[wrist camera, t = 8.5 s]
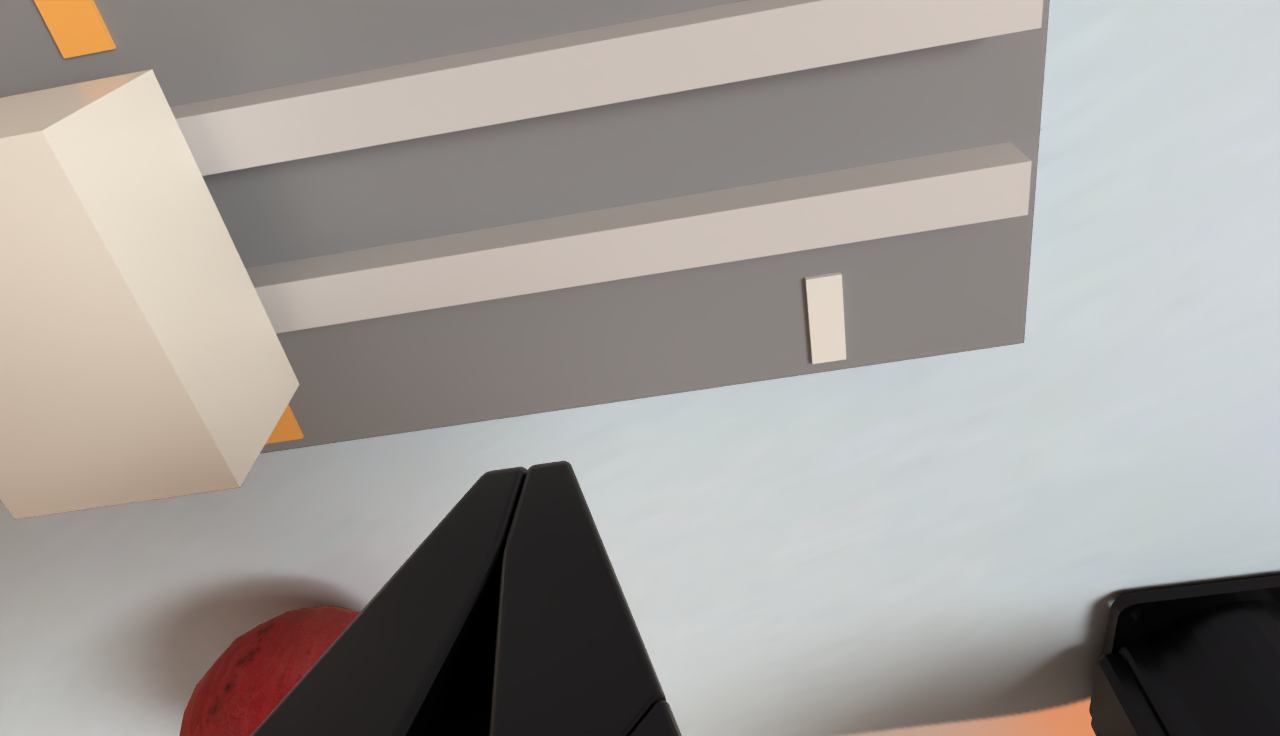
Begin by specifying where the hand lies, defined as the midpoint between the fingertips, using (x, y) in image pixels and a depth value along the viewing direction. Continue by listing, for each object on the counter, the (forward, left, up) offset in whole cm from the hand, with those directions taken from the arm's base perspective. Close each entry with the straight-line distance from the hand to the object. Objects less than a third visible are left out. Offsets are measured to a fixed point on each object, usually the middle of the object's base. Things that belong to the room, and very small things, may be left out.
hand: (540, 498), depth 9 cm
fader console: (+2, 0, -11) cm, 11 cm away
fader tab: (+8, 0, -9) cm, 12 cm away
